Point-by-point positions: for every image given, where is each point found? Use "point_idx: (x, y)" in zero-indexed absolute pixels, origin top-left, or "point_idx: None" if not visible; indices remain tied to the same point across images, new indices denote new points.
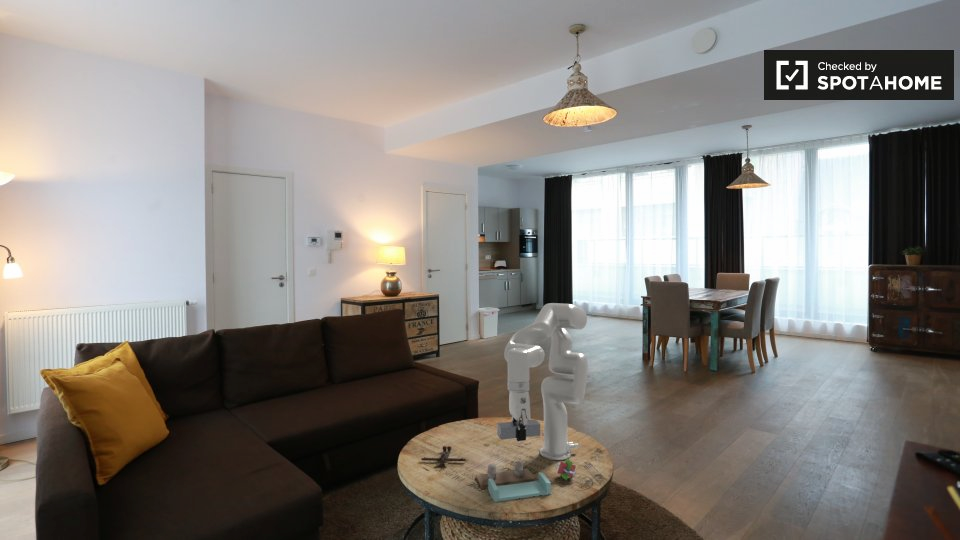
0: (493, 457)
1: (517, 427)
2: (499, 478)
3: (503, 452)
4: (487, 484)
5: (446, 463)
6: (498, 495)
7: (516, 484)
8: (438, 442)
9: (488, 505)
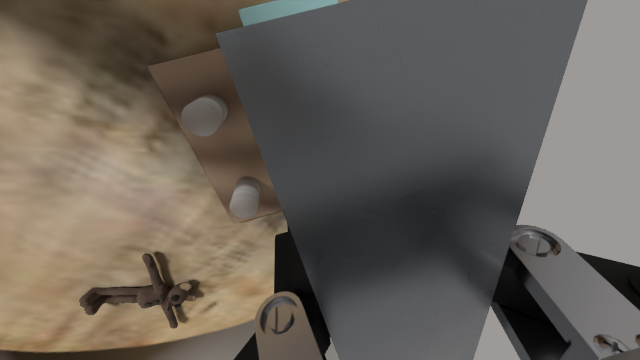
0: (74, 184)
1: (494, 308)
2: (247, 167)
3: (3, 152)
4: None
5: (184, 286)
6: None
7: None
8: (38, 319)
9: None
